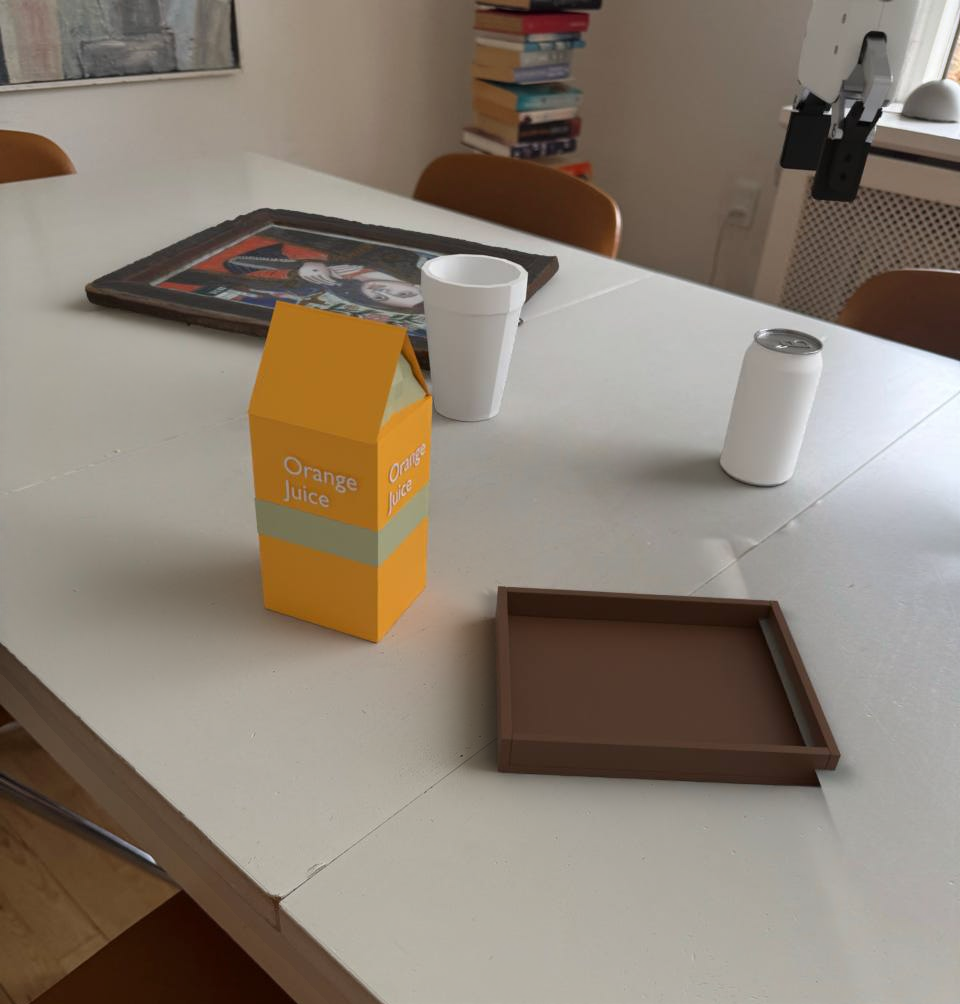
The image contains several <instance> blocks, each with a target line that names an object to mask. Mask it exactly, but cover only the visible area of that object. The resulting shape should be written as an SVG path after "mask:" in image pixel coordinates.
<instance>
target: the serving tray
mask: <svg viewBox="0 0 960 1004" xmlns="http://www.w3.org/2000/svg"><path fill="white" fill-rule="evenodd" d="M496 592H497V593H496V602H495V603H496V604H495V617H494V618H495V619H494V621H495V624H494V625H495V629H494V630H495V675H496V676H495V683H496V687H495V688H496V690H495V691H496V732H497V733H496V736H497V737H496V742H497V743H496V744H497V745H496V746H497V772H499V773H513V774H514V773H516V774H535V775H537V774H539V775H559V776H580V777H599V778H600V777H601V778H621V779H622V778H623V779H643V780H644V779H645V780H666V781H667V780H668V781H669V780H670V781H687V782H688V781H689V782H707V783H708V782H709V783H710V782H711V783H731V784H736V783H737V784H753V785H755V784H757V785H776V786H795V787H796V786H799V787H817V788H818V787H820V788H821V787H822V784H821V781H820V779H819V776H818V774H817V771H819V770H820V771H836V769H837V767H838V764H839V761H840V758H841V757H842V756H841V755H842V754H841V752H840V749H839V746H838V744H837V742H836V739H835V737H834V734H833V732H832V729H831V727H830V724H829V723H828V720H827V717H826V715H825V712H824V710H823V707H822V705H821V703H820V700H819V698H818V695H817V693H816V691H815V688H814V686H813V684H812V683H813V682H812V681H811V678H810V676H809V673H808V671H807V668H806V666H805V664H804V661H803V660H802V659H803V658H802V656H801V654H800V652H799V649H798V647H797V645H796V642H795V640H794V637H793V635H792V632H791V630H790V628H789V625H788V622H787V620H786V618H785V615H784V613H783V611H782V608H781V605H780V603H779V601H778V600H773V599H772V600H771V599H768V600H767V599H752V598H751V599H747V598H730V597H729V598H728V597H712V596H711V597H710V596H693V595H692V596H691V595H676V594H675V595H673V594H672V595H671V594H655V593H635V592H616V591H615V592H614V591H597V590H579V589H578V590H577V589H561V588H560V589H559V588H541V587H521V586H520V587H519V586H505V585H498V586H497V591H496ZM761 620H766V621H767V624H768V625H769V628H770V631H771V634H772V637H773V639H774V642H775V644H776V646H777V649H778V652H779V655H780V657H781V660H782V662H783V665H784V667H785V670H786V673H787V675H788V678H789V680H790V683H791V685H792V688H793V690H794V694H795V696H796V699H797V701H798V704H799V707H800V709H801V711H802V714H803V716H804V719H805V721H806V724H807V727H808V730H809V732H810V734H811V737H812V740H813V743H814V744H815V746H807V745H806V741H805V738H804V736H803V733H802V731H801V728H800V725H799V722H798V721H797V717H796V715H795V712H794V709H793V707H792V703H791V701H790V698H789V696H788V693H787V691H786V689H785V686H784V682H783V680H782V677H781V675H780V673H779V670H778V666H777V664H776V661H775V659H774V656H773V654H772V650H771V648H770V645H769V643H768V641H767V637H766V635H765V632H764V630H763V627H762V623H761V622H760V621H761Z"/></svg>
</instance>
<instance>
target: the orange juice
mask: <svg viewBox="0 0 960 1004" xmlns="http://www.w3.org/2000/svg"><path fill="white" fill-rule="evenodd" d="M406 330H407V328H405V327H400V326H395V325H390V324H386V323H381V322H376V321H372V320H367V319H362V318H358V317H353V316H348V315H344V314H339V313H334V312H330V311H325V310H320V309H316V308H311V307H306V306H301V305H297V304H292V303H287V302H283V301H278V300H277V301H276V304H275V308H274V312H273V316H272V320H271V324H270V327H269V331H268V335H267V339H266V338H265V343H264V347H263V350H262V355H261V358H260V362H259V366H258V370H257V374H256V378H255V381H254V386H253V390H252V393H251V397H250V401H249V404H248V408H247V412H246V414H247V415H248V427H249V438H250V451H251V452H250V453H251V461H252V472H253V473H252V474H253V475H252V476H253V483H254V484H253V487H254V508H255V519H256V521H255V522H256V532H257V534H258V545H259V557H260V569H261V571H260V572H261V582H262V593H263V605H264V609H267V610H269V611H272V612H277V613H279V614H283V615H286V616H289V617H292V618H296V619H299V620H302V621H306V622H308V623H311V624H315V625H319V626H321V627H324V628H327V629H331V630H334V631H338V632H340V633H344V634H346V635H351V636H354V637H356V638H360V639H362V640H366V641H370V642H373V643H376V644H378V643H379V642H381V640H382V639H383V638H384V636H385V635H387V633H388V632H389V631H390V630H391V628H392V627H393V626H394V625H395V624H396V622H397V621H399V619H400V618H401V617H402V615H404V613H405V612H406V611H407V610H408V608H410V606H411V605H412V604H413V602H414V601H415V600H416V599H417V598H418V597H419V595H420V594H421V593H422V592H423V591H424V590H425V589H426V587H427V564H428V562H427V561H428V537H429V536H428V535H429V534H428V533H429V515H430V503H431V502H430V501H431V500H430V498H431V497H430V496H431V479H430V476H431V475H430V474H431V470H430V469H431V447H432V445H431V444H432V421H433V420H432V417H433V395H431V394H430V391H429V389H428V386H427V382H426V381H425V377H424V375H423V372H422V369H420V367H419V364H418V361H417V359H416V356H415V353H414V351H413V348H412V345H411V343H410V340H409V337H408V335H407V332H406Z"/></svg>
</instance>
